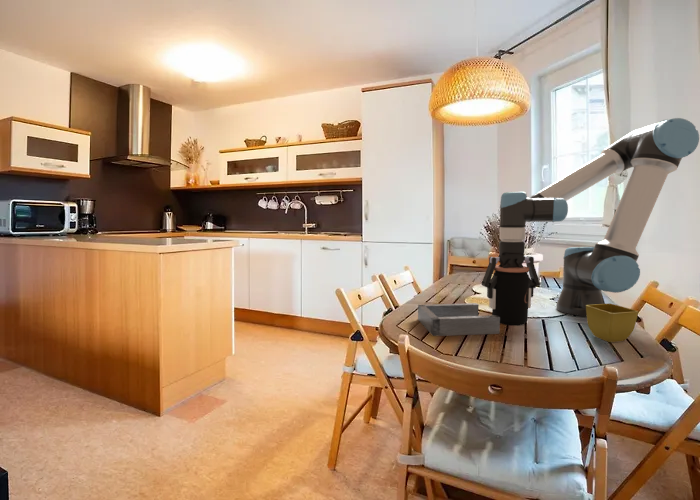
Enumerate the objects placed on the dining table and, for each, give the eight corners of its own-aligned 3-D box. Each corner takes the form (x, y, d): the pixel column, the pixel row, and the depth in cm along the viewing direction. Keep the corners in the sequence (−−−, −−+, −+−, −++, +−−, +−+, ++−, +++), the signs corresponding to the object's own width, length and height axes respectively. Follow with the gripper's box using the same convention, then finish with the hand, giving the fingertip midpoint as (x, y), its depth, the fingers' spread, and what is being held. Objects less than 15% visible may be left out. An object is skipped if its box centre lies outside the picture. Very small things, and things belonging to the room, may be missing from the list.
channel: (475, 317, 125) (476, 303, 124) (499, 333, 108) (499, 317, 107) (418, 319, 123) (418, 304, 123) (432, 336, 107) (433, 319, 106)
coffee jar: (531, 327, 114) (533, 269, 112) (495, 325, 116) (496, 269, 114) (522, 317, 124) (524, 265, 122) (489, 316, 126) (490, 264, 124)
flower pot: (637, 343, 99) (639, 310, 98) (610, 346, 97) (612, 313, 96) (608, 333, 107) (610, 303, 106) (583, 335, 106) (584, 304, 105)
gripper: (540, 239, 122) (537, 303, 124) (471, 240, 120) (470, 305, 122) (554, 240, 114) (551, 309, 117) (481, 242, 113) (479, 311, 115)
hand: (509, 307), depth 120 cm, fingers open, 11 cm apart
